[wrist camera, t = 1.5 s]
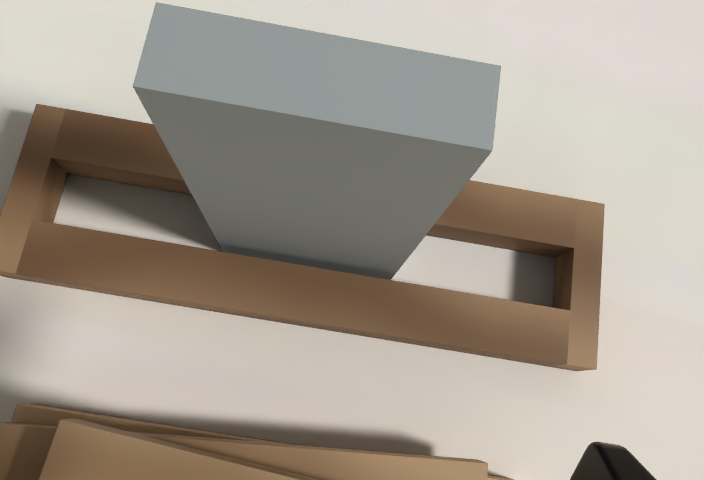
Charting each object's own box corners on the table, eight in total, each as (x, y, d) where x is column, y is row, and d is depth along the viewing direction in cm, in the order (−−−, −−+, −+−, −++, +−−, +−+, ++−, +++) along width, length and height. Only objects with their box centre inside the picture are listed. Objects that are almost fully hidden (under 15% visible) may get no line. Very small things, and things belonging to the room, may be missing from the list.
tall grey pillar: (389, 280, 22) (492, 150, 10) (223, 252, 21) (132, 85, 10) (395, 238, 22) (501, 65, 11) (232, 210, 22) (156, 2, 10)
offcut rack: (560, 647, 19) (612, 697, 16) (-80, 554, 18) (-160, 587, 15) (585, 216, 23) (631, 187, 20) (53, 122, 22) (12, 76, 19)
